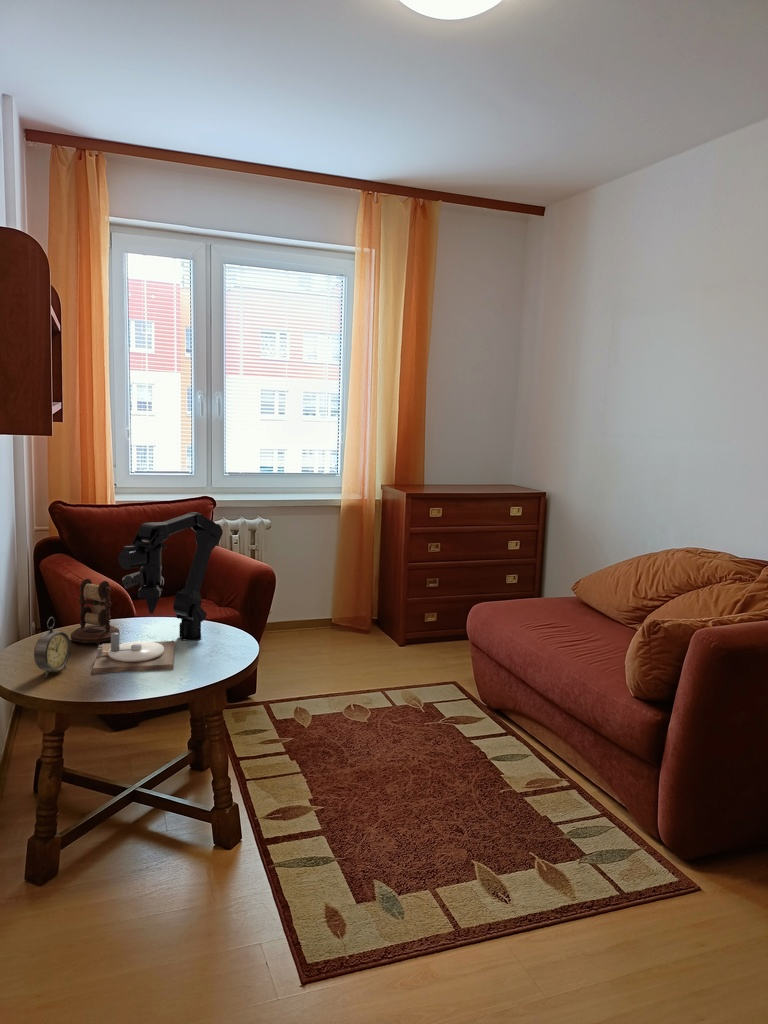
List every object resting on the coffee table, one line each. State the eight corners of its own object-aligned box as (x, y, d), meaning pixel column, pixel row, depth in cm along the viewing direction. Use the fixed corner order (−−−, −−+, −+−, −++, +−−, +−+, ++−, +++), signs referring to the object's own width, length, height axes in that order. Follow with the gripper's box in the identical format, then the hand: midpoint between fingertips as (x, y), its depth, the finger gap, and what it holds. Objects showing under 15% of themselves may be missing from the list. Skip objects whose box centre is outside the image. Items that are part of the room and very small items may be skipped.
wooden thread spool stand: (129, 636, 238) (128, 577, 236) (100, 649, 224) (99, 587, 221) (91, 630, 242) (90, 572, 239) (60, 643, 228) (59, 582, 225)
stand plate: (175, 645, 231) (175, 633, 230) (173, 669, 210) (173, 656, 209) (102, 648, 225) (101, 636, 225) (92, 673, 204) (92, 659, 204)
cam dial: (164, 643, 227) (164, 624, 226) (163, 660, 212) (163, 639, 211) (105, 645, 222) (105, 626, 221) (100, 663, 207) (99, 642, 206)
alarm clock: (47, 680, 197) (46, 623, 195) (30, 678, 198) (29, 621, 196) (72, 667, 208) (71, 613, 206) (56, 665, 209) (55, 611, 207)
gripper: (127, 558, 229) (127, 605, 231) (119, 570, 211) (120, 622, 213) (164, 558, 231) (164, 605, 233) (159, 570, 213) (159, 621, 215)
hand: (151, 613), depth 224 cm, fingers closed
